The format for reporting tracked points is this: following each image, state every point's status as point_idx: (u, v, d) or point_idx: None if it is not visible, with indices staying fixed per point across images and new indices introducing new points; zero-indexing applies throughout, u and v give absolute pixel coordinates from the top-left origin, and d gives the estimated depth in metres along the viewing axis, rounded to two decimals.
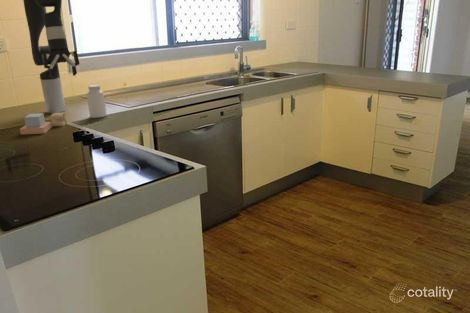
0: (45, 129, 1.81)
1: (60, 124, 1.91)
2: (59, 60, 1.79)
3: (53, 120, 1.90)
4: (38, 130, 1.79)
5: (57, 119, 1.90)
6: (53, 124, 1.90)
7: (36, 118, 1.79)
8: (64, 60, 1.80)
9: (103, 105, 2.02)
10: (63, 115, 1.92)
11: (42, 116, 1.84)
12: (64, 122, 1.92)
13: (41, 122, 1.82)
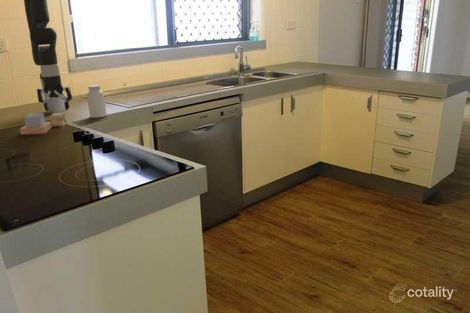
0: (45, 129, 1.81)
1: (60, 124, 1.91)
2: (52, 95, 1.87)
3: (53, 120, 1.90)
4: (38, 130, 1.79)
5: (57, 119, 1.90)
6: (53, 124, 1.90)
7: (36, 118, 1.79)
8: (56, 95, 1.87)
9: (103, 105, 2.02)
10: (63, 115, 1.92)
11: (42, 116, 1.84)
12: (64, 122, 1.92)
13: (41, 122, 1.82)
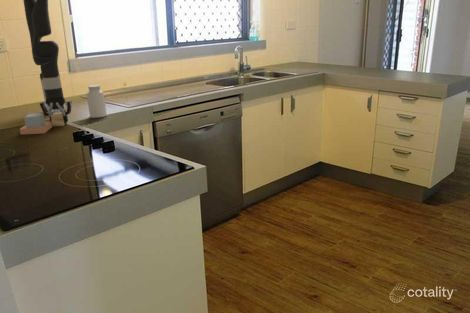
0: (45, 129, 1.81)
1: (60, 124, 1.91)
2: (53, 107, 1.89)
3: (53, 120, 1.90)
4: (38, 130, 1.79)
5: (57, 119, 1.90)
6: (53, 124, 1.90)
7: (36, 118, 1.79)
8: (57, 107, 1.89)
9: (103, 105, 2.02)
10: (63, 115, 1.92)
11: (42, 116, 1.84)
12: None
13: (41, 122, 1.82)
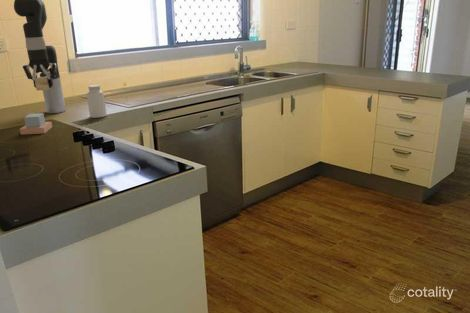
0: (45, 129, 1.81)
1: (45, 88, 1.81)
2: (37, 70, 1.79)
3: (37, 84, 1.80)
4: (38, 130, 1.79)
5: (41, 82, 1.80)
6: (37, 88, 1.80)
7: (36, 118, 1.79)
8: (41, 70, 1.80)
9: (103, 105, 2.02)
10: None
11: (42, 116, 1.84)
12: None
13: (41, 122, 1.82)
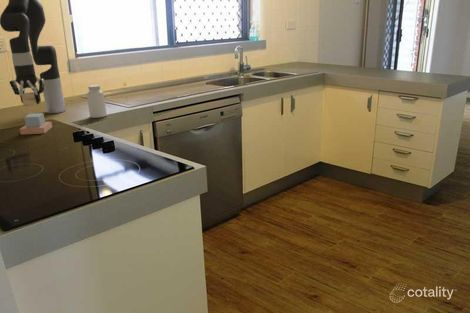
0: (45, 129, 1.81)
1: (32, 104, 1.78)
2: (24, 86, 1.76)
3: (24, 99, 1.77)
4: (38, 130, 1.79)
5: (28, 98, 1.77)
6: (24, 104, 1.77)
7: (36, 118, 1.79)
8: (28, 86, 1.76)
9: (103, 105, 2.02)
10: None
11: (42, 116, 1.84)
12: None
13: (41, 122, 1.82)
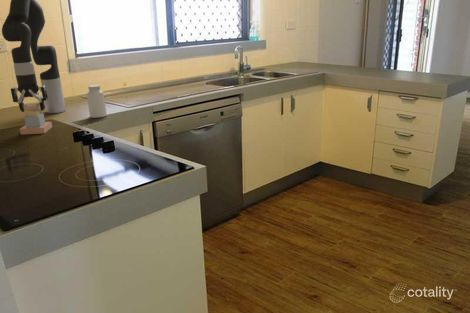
0: (45, 129, 1.81)
1: (34, 115, 1.79)
2: (26, 95, 1.78)
3: (26, 110, 1.78)
4: (38, 130, 1.79)
5: (30, 109, 1.78)
6: (26, 115, 1.79)
7: (36, 118, 1.79)
8: (31, 95, 1.78)
9: (103, 105, 2.02)
10: (37, 105, 1.80)
11: (42, 116, 1.84)
12: (38, 112, 1.81)
13: (41, 122, 1.82)
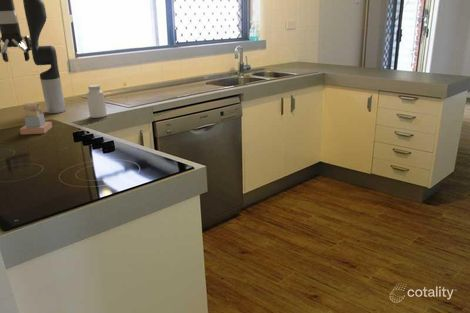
0: (45, 129, 1.81)
1: (34, 115, 1.79)
2: (10, 45, 1.78)
3: (26, 110, 1.78)
4: (38, 130, 1.79)
5: (30, 109, 1.78)
6: (26, 115, 1.79)
7: (36, 118, 1.79)
8: (15, 45, 1.78)
9: (103, 105, 2.02)
10: (37, 105, 1.80)
11: (42, 116, 1.84)
12: (38, 112, 1.81)
13: (41, 122, 1.82)
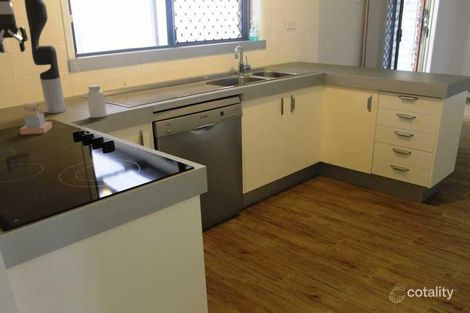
0: (45, 129, 1.81)
1: (34, 115, 1.79)
2: (5, 35, 1.79)
3: (26, 110, 1.78)
4: (38, 130, 1.79)
5: (30, 109, 1.78)
6: (26, 115, 1.79)
7: (36, 118, 1.79)
8: (10, 36, 1.79)
9: (103, 105, 2.02)
10: (37, 105, 1.80)
11: (42, 116, 1.84)
12: (38, 112, 1.81)
13: (41, 122, 1.82)
